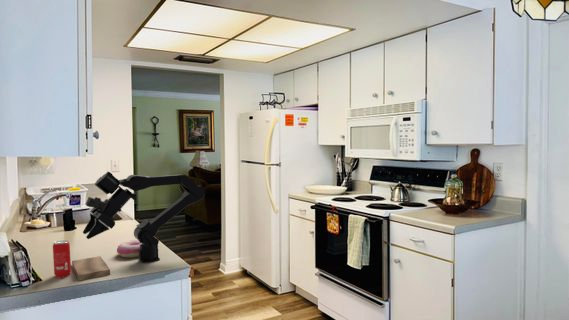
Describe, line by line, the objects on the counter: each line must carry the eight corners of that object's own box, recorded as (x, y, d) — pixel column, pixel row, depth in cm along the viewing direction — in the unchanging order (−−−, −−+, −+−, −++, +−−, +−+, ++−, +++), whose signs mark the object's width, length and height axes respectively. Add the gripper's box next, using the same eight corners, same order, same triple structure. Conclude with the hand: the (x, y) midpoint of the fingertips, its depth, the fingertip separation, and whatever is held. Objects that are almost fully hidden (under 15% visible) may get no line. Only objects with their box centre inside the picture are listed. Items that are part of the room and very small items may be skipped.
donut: (127, 261, 158) (126, 249, 157) (110, 255, 166) (110, 243, 166) (157, 253, 168) (157, 241, 168) (141, 248, 177) (140, 237, 176)
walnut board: (100, 260, 159) (100, 256, 159) (110, 274, 142) (110, 269, 142) (72, 265, 154) (71, 260, 154) (78, 280, 137) (78, 275, 137)
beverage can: (51, 278, 140) (49, 243, 139) (61, 272, 145) (59, 240, 145) (64, 278, 139) (62, 244, 139) (74, 273, 144) (72, 240, 144)
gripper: (95, 186, 156) (64, 218, 150) (103, 191, 140) (69, 226, 135) (117, 204, 160) (88, 235, 155) (128, 210, 145) (96, 246, 139)
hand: (85, 235), depth 146 cm, fingers open, 9 cm apart
